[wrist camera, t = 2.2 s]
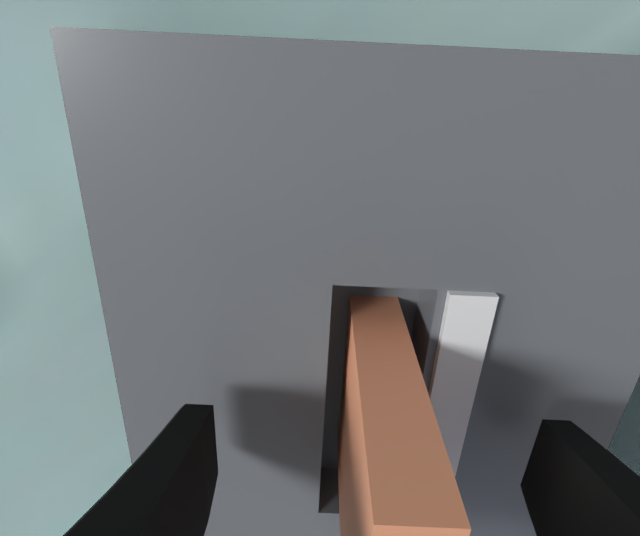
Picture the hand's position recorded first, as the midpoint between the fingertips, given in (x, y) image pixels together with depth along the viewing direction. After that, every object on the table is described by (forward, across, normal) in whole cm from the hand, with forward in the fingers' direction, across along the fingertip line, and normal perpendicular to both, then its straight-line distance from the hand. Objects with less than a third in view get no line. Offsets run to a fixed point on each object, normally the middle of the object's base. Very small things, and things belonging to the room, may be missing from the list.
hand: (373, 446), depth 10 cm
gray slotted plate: (+3, 0, 0) cm, 3 cm away
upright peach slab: (+2, 0, 0) cm, 2 cm away
